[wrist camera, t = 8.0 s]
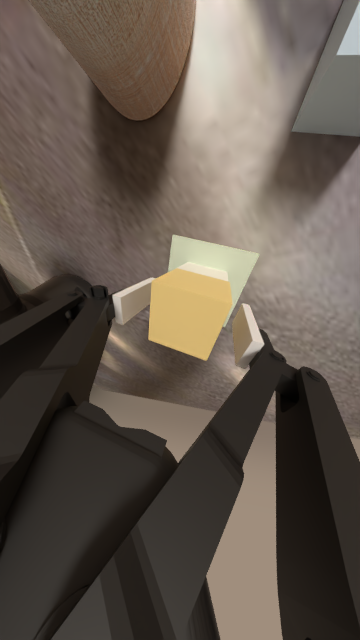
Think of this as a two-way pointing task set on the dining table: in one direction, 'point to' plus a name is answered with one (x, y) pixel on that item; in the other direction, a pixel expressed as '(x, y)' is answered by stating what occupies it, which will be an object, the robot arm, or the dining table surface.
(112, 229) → the dining table surface
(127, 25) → the planter
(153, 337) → the ochre brick
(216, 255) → the baseplate
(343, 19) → the blue brick
